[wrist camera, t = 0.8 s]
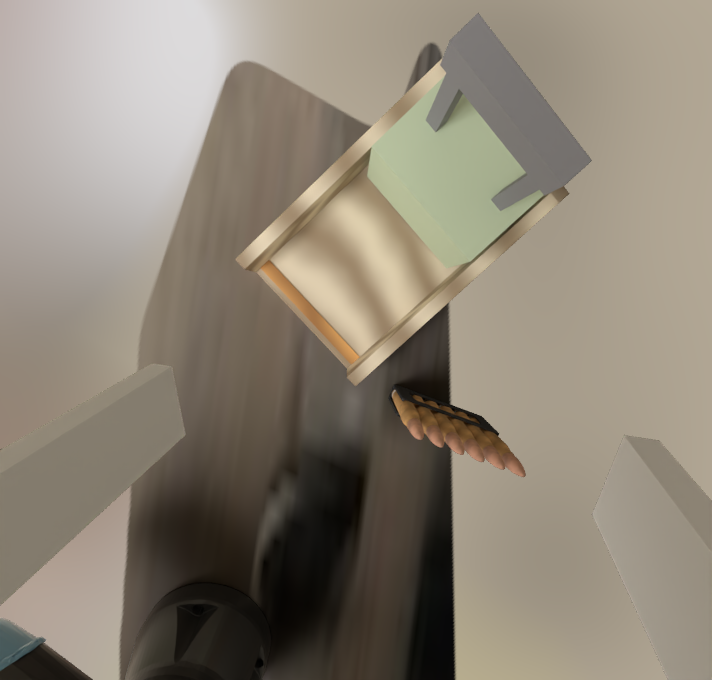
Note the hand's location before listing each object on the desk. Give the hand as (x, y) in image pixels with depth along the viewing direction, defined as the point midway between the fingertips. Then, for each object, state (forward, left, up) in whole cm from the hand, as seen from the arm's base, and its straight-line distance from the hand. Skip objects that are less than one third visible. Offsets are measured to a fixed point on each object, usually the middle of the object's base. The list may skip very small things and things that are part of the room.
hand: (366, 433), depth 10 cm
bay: (+10, +5, -27) cm, 30 cm away
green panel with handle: (+17, +5, -26) cm, 31 cm away
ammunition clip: (+1, -12, -28) cm, 30 cm away
